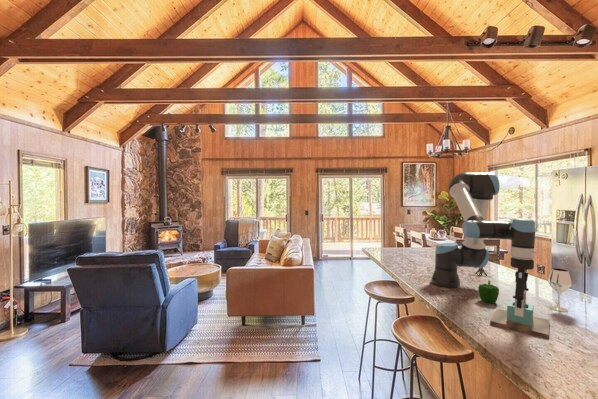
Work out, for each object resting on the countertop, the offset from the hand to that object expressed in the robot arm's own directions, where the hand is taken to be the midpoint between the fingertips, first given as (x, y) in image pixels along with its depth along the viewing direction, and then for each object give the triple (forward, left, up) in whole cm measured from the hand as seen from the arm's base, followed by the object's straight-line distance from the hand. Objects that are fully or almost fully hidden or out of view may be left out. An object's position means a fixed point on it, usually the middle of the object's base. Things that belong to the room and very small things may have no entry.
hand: (520, 311), depth 124 cm
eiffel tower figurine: (-27, +79, -6) cm, 84 cm away
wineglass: (+12, +33, -5) cm, 36 cm away
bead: (0, 0, -4) cm, 4 cm away
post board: (0, 0, -5) cm, 5 cm away
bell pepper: (-14, +22, -5) cm, 27 cm away
